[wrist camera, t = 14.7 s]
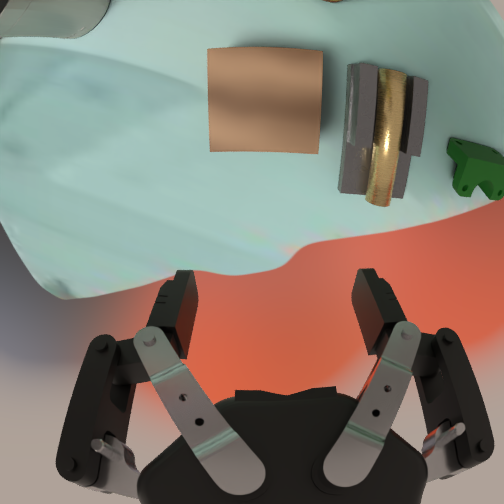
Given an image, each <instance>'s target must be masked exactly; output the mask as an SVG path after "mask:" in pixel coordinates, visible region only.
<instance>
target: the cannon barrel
mask: <svg viewBox="0 0 504 504" xmlns="http://www.w3.org/2000/svg"><path fill="white" fill-rule="evenodd" d="M406 80H407V74H405V73H403V72H399V71H395V70H390V69H379V83H378V100H377V113H376V124H375V134H374V143H373V151H372V159H371V166H370V173H369V179H368V186H367V192H366V197H365V199H366V201H368V202H369V203H371V204H373V205H377V206H382V207H386V206H389V205H390V201H391V197H392V192H393V187H394V181H395V176H396V170H397V164H398V158H399V152H400V145H401V137H402V129H403V120H404V109H405V97H406Z"/></svg>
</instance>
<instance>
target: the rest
mask: <svg viewBox="0 0 504 504" xmlns="http://www.w3.org/2000/svg"><path fill="white" fill-rule="evenodd" d="M378 83H379V70H378V66H374V65H369V64H365V63H356V64H349V65H347V91H346V108H345V123H344V135H343V146H342V156H341V165H340V174H339V182H338V190H339V191H340V193H347V194H360V195H366V192H367V186H368V179H369V173H370V166H371V159H372V151H373V143H374V134H375V124H376V113H377V100H378ZM427 94H428V81H427V80H424V79H421V78H418V77H415V76H407V80H406V97H405V109H404V120H403V129H402V137H401V145H400V152H399V158H398V164H397V170H396V176H395V181H394V187H393V192H392V198H401V199H403V196H404V191H405V186H406V181H407V176H408V171H409V165H410V159H411V155H413V156H418V157H420V154H421V147H422V141H423V134H424V126H425V117H426V107H427Z"/></svg>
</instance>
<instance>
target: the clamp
mask: <svg viewBox="0 0 504 504" xmlns="http://www.w3.org/2000/svg"><path fill="white" fill-rule="evenodd" d="M447 154H448V155H449V156H450V157H451V158H452V159H453V160H454V161H455V162H456V163H457V164H458V165H457V168H456V171H455V173H454V177H453V179H454V180H453V183H452V186H453V188H454V190H455V191H456V192H457V193H458V195H459V196H463V197H471V194H472V192H473V190H474V188H475V187H476V186H477V185H478V186H479V187H480V188H481V189H482V191H483V192H484V193H485V194H486V196H487V197H488V198H489V199H490V200H500V199H501V198H503V196H504V157H503V156H502V155H501V154H500V153H499V152H497V151H496V150H494V149H492V148H490V147H487V146H483V145H479V144H476V143H472V142H468V141H464V140H459V139H455V138H450V141H449V145H448V149H447Z"/></svg>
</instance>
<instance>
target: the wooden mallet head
mask: <svg viewBox="0 0 504 504" xmlns="http://www.w3.org/2000/svg"><path fill="white" fill-rule="evenodd" d="M207 59H208V112H209V140H210V152H228V151H255V152H289V153H307V154H318V150H319V136H320V120H321V100H322V71H323V51H317V50H307V49H296V48H280V47H229V48H212V49H207Z"/></svg>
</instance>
